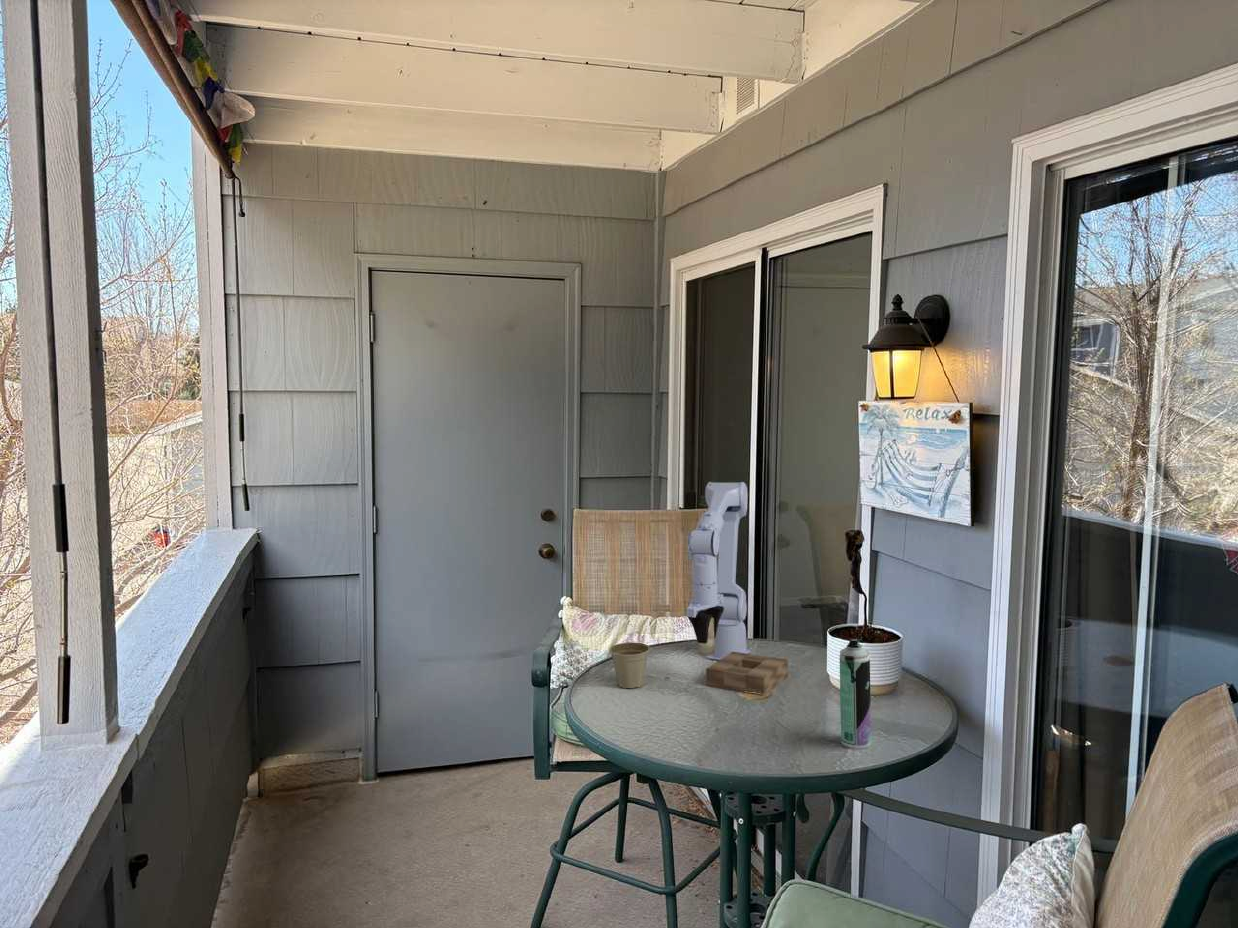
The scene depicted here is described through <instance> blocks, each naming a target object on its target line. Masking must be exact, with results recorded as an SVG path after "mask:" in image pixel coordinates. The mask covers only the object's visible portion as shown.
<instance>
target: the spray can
mask: <svg viewBox="0 0 1238 928" xmlns="http://www.w3.org/2000/svg"><path fill="white" fill-rule="evenodd" d="M839 690H840V691H839V693H840V694H839V696H840V697H839V699H840V700H839V701H840V702H839V703H840V708H839V709H840V743H841V745H842V746H844V747H846V748H848V749H852V750H865V749H868V748H870V747H871V746H872V715H871V714H872V711H871V709H872V708H871V707H872V706H871V656H870V652H869V650H868V649H865V648H864V647H863V645H861V644H860V640H859V638H851V639H850V640H849V642H848V644H847V645H846V647H844V648H842V649H841V650H840V651H839Z"/></svg>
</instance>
